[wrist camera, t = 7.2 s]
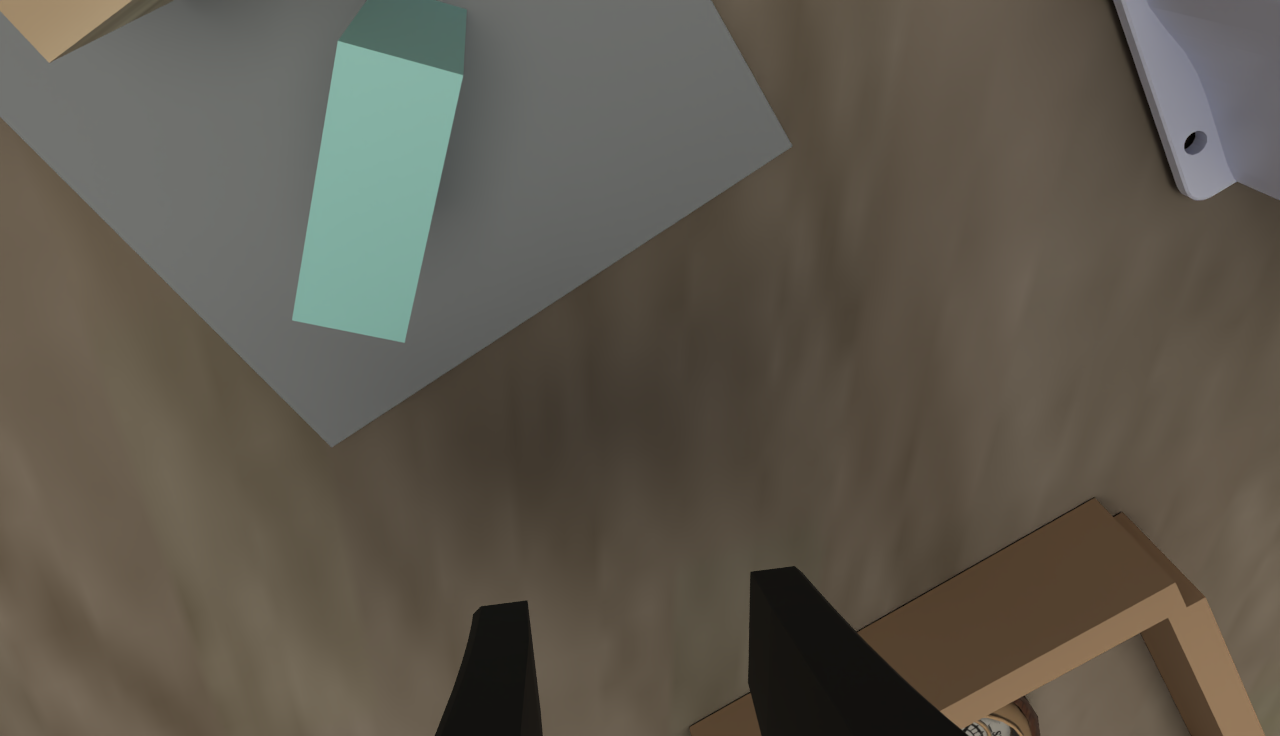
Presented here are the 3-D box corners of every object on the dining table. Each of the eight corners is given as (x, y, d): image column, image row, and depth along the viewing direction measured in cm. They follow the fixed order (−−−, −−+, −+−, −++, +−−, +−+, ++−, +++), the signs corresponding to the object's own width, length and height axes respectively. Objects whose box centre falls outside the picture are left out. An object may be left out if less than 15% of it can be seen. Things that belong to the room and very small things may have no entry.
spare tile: (466, 9, 18) (463, 75, 13) (423, 211, 20) (404, 342, 14) (379, -17, 18) (338, 40, 12) (341, 192, 19) (291, 320, 14)
